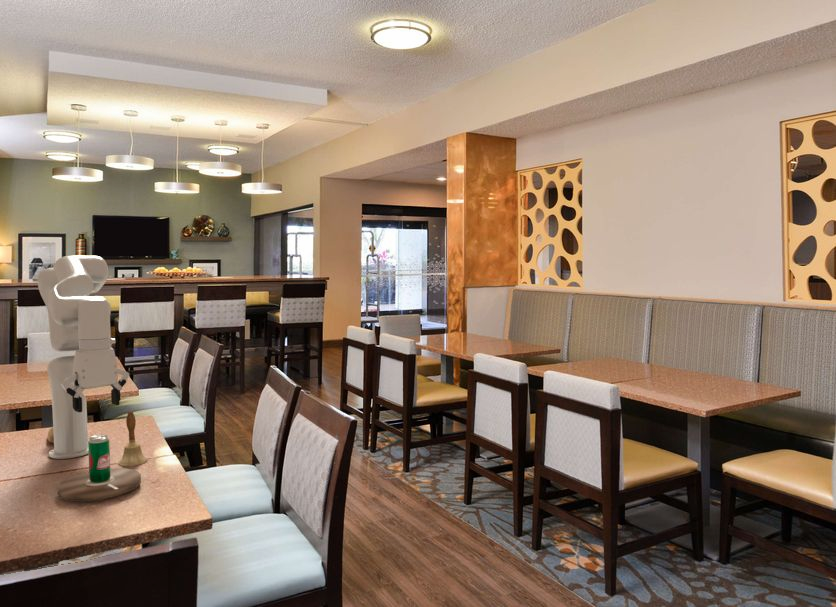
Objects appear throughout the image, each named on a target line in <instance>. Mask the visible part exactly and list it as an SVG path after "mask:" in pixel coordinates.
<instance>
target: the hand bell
mask: <svg viewBox="0 0 836 607" xmlns="http://www.w3.org/2000/svg"><path fill="white" fill-rule="evenodd" d="M125 424H126V427H127V430H128V443H126V444H125V445H124V447H123V453H122V456H121V458H120V459H119V461H118V462H117V464H118V466H120V467H136V466H140V465H142V464H146V463H147V462H148V457H147V456H145V455H144V453H143V451H142V447H141V444H140V443H138V442H136V436H135V429H136V424H137V422H136V417H135V414H134V412H133V410H130V411H127V416H126V422H125Z"/></svg>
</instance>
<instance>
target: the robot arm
mask: <svg viewBox="0 0 836 607" xmlns="http://www.w3.org/2000/svg"><path fill="white" fill-rule="evenodd" d="M108 266H109V265H108V263H107V262H106V260H105V259H104V258H103V257H101V256H98V255H65V256H61V257H59V258H58V259H57V260H56V261H55V262H54V264H53V266H52V267H48V268H43V269H42V270H40V271H39V272H38V275H37V280H36V281H37V288H38V291H39V293H40V296H41V298H42V300H43V302H44V304H45V307H46V309H47V315H48V326H49V328H48V330H49V339H50V340H49V341H50V345H51V347H52V349H53V351H55V352H58V353H59V352H60V353H65V352H66V353H67V352H68V353H69V352H74V355H65V356H64V355H63V356H58V357H56V358H54V359H52V360H50V361H49V363H48V364H47V367H46V368H47V370H46V372H47V376H48V382H49V386H50V387H49V388H50V392H51V406H52V428H53V432H54V443H53V449H50V450H49V451H48V457H50V458H51V459H56V460H61V459H63V460H64V459H65V460H66V459H72V458H73V459H74V458H79V457H82V456H85V455H89V453H88V442H89V436H88V435H89V434H88V433H89V432H88V412H87V411H88V410H87V409H88V408H87V407H88V406H87V398H86V395H85V394H84V393H83V392H84V391H85V390H89V389H96V388H97V389H98V388H102V387H108V386H110V387H111V388H112V389H111V391H110V398H111V400H110V401H111V402H110V403H111V404H112V405H114V406H119V405H120V402H121V391H122V390H123V387H124V386H125V385H126V383H127V380H128V378H129V376H130V373H129V372H128V371H125V370H122V369H119V368H118V365H117V358H116V353H115V350H114V348H113V347H112V346H113V344H116V342H117V341H116V338H112V337H111V336H112V334H111V314H112V313H111V312H112V309H111V303H110V301H108V299H107V298H106V297H105V296H102V295H94V296H93V295H91V294H93V293H98V292H99V291H100V290H101V289H102V288H103V287H104V285H105V284H106V282H107V280H108V277H109V268H108ZM90 295H91V296H90ZM119 375H120V376H121V377H120V379H119ZM118 379H119V380H118Z"/></svg>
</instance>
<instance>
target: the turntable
mask: <svg viewBox="0 0 836 607" xmlns="http://www.w3.org/2000/svg"><path fill="white" fill-rule="evenodd" d="M110 474H111V477H110V479H109V480H107V481H105V482H102V483H92V482H91V481H90V479H89V471H86V472H83V473H78V474H76V475H73V476H70V477H69V478H66V479H64V480H63V481H61V482H60V483H59V484H58V485H57V497H59V498H60V499H62V500H65V501H70V502H89V501H99V500H104V499H105V498H106V499H109V498H113V497H117V496H120V495H124V494H126V493H128V492H130V491H132V490H134V489H136V488H137V487H139V485H141V482H142V475H141V473H140V472H139V471H138V470H135V469H131V468H120V467H119V468H117V467H116V468H114V467H113V468H110ZM106 499H105V500H106Z"/></svg>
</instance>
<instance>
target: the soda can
mask: <svg viewBox="0 0 836 607" xmlns="http://www.w3.org/2000/svg"><path fill="white" fill-rule="evenodd" d="M110 448H111V445H110V438H109V437H108V435H106V434H97V435H93V436H90V437H89V439H88V453H89V454H88V472H89V479H90V481H91V482H92V483H102V482H105V481H107V480H109V479H110V477H111V474H110V469H111V455H110V454H111V453H110Z"/></svg>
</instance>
